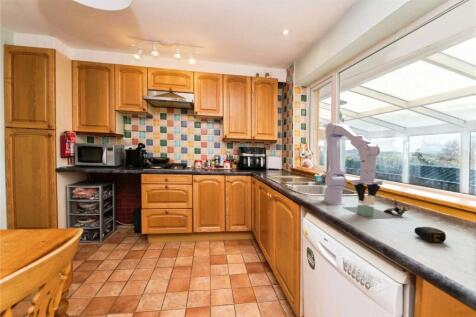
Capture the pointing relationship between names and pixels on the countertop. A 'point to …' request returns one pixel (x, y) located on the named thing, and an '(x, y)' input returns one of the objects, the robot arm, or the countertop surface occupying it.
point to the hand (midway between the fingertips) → (365, 200)
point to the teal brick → (365, 210)
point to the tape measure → (431, 234)
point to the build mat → (376, 214)
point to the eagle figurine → (397, 209)
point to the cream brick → (367, 200)
